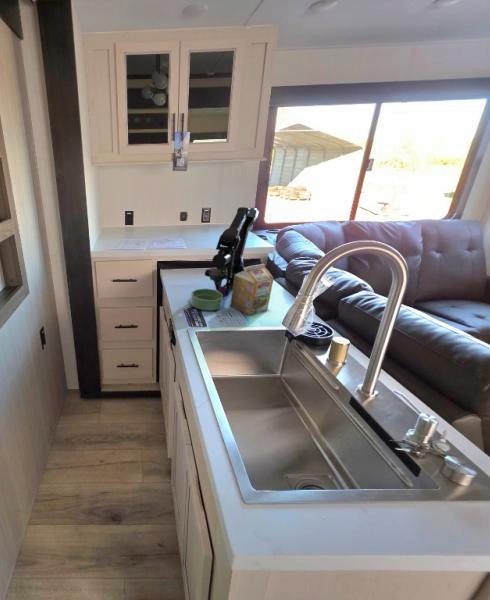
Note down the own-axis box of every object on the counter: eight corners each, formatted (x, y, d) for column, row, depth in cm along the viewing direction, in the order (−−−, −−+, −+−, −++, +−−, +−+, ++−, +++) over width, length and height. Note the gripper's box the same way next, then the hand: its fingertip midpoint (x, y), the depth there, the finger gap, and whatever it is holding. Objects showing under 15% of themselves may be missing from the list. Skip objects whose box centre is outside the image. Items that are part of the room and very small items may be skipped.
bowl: (205, 296, 145) (206, 286, 143) (228, 306, 135) (229, 295, 133) (184, 303, 138) (185, 293, 136) (207, 314, 128) (208, 303, 126)
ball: (221, 293, 148) (222, 284, 146) (229, 297, 145) (231, 287, 143) (214, 296, 146) (215, 286, 144) (222, 299, 142) (224, 289, 140)
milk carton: (249, 315, 127) (256, 271, 120) (230, 305, 136) (236, 263, 128) (267, 310, 132) (275, 267, 124) (247, 301, 140) (254, 260, 133)
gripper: (198, 259, 141) (195, 291, 148) (232, 270, 127) (227, 305, 134) (214, 255, 147) (211, 286, 153) (249, 265, 133) (243, 299, 139)
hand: (222, 294), depth 145 cm, fingers closed on ball, 5 cm apart
